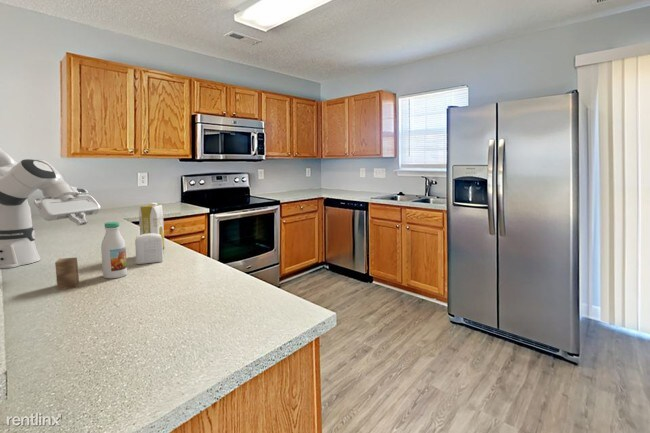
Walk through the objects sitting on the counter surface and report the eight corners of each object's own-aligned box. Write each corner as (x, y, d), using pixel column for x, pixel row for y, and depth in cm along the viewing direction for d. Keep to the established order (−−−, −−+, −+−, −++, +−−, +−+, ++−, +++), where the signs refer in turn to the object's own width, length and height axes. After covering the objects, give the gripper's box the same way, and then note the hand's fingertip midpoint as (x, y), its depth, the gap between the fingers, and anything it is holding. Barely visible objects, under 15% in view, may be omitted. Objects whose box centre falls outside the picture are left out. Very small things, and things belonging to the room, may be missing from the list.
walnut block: (57, 289, 115) (55, 262, 114) (61, 284, 120) (59, 258, 118) (75, 287, 117) (73, 261, 116) (79, 282, 122) (76, 257, 120)
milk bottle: (102, 280, 125) (98, 224, 122) (104, 274, 131) (100, 221, 128) (127, 277, 128) (123, 223, 125) (127, 271, 135) (124, 220, 132)
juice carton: (157, 258, 153) (154, 204, 150) (139, 258, 153) (135, 203, 150) (166, 253, 163) (164, 202, 159) (149, 252, 163) (147, 201, 159)
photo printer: (162, 259, 152) (161, 231, 150) (164, 261, 149) (162, 233, 147) (135, 262, 147) (133, 233, 145) (136, 265, 143) (135, 235, 141)
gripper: (34, 193, 120) (58, 223, 119) (90, 189, 140) (111, 214, 138) (27, 205, 123) (50, 234, 121) (83, 199, 142) (103, 225, 140)
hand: (83, 224), depth 130 cm, fingers closed
